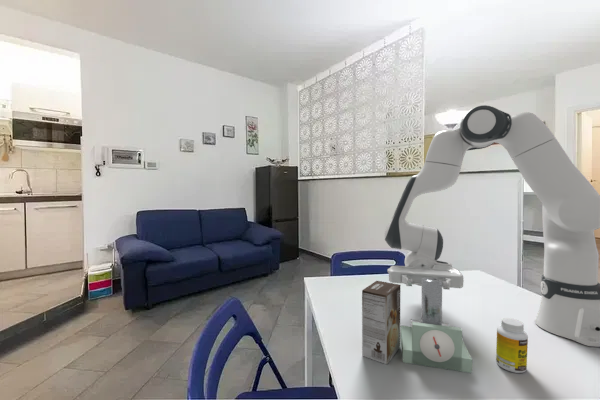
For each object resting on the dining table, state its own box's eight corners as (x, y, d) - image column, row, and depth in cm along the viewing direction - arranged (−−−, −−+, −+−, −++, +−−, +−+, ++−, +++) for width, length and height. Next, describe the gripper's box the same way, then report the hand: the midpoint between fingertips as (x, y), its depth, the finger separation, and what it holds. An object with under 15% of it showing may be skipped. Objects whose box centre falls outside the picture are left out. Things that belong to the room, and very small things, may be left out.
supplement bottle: (520, 377, 61) (521, 330, 61) (491, 364, 66) (492, 320, 65) (531, 368, 64) (532, 323, 64) (502, 356, 69) (503, 313, 68)
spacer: (440, 325, 74) (440, 278, 73) (443, 334, 69) (443, 284, 69) (420, 323, 75) (420, 276, 75) (422, 331, 71) (422, 282, 70)
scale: (458, 344, 74) (459, 309, 74) (472, 374, 62) (473, 333, 62) (400, 336, 78) (400, 303, 78) (403, 363, 66) (403, 325, 66)
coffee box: (376, 339, 77) (376, 279, 76) (400, 347, 73) (401, 284, 72) (361, 356, 69) (361, 289, 69) (387, 366, 65) (388, 295, 65)
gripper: (387, 258, 96) (388, 270, 82) (456, 263, 90) (469, 276, 77) (387, 277, 96) (387, 292, 83) (456, 283, 90) (468, 300, 77)
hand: (427, 285), depth 80 cm, fingers open, 8 cm apart
